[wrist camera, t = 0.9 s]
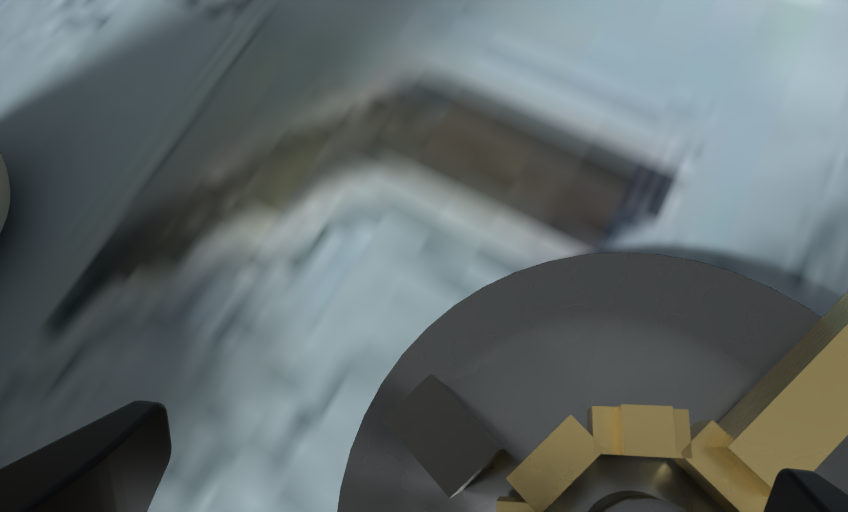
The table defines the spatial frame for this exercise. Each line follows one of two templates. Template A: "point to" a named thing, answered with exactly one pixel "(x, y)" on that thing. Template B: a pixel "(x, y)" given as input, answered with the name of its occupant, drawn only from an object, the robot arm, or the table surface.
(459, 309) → the grey round tray
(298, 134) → the table surface
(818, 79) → the table surface
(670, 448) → the gold crown with post
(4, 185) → the grey bottle
